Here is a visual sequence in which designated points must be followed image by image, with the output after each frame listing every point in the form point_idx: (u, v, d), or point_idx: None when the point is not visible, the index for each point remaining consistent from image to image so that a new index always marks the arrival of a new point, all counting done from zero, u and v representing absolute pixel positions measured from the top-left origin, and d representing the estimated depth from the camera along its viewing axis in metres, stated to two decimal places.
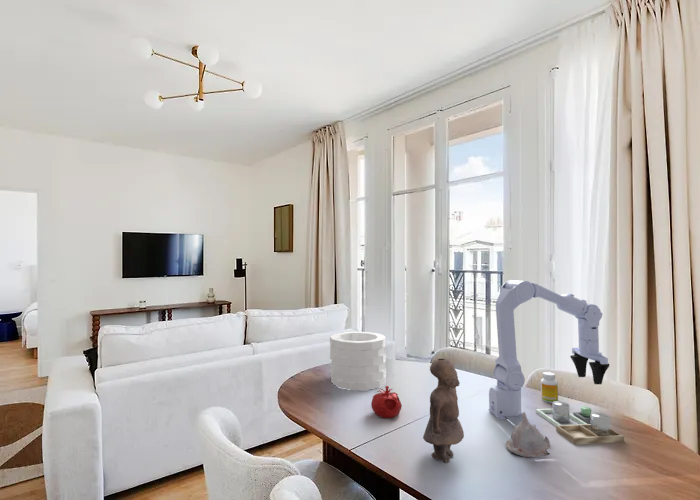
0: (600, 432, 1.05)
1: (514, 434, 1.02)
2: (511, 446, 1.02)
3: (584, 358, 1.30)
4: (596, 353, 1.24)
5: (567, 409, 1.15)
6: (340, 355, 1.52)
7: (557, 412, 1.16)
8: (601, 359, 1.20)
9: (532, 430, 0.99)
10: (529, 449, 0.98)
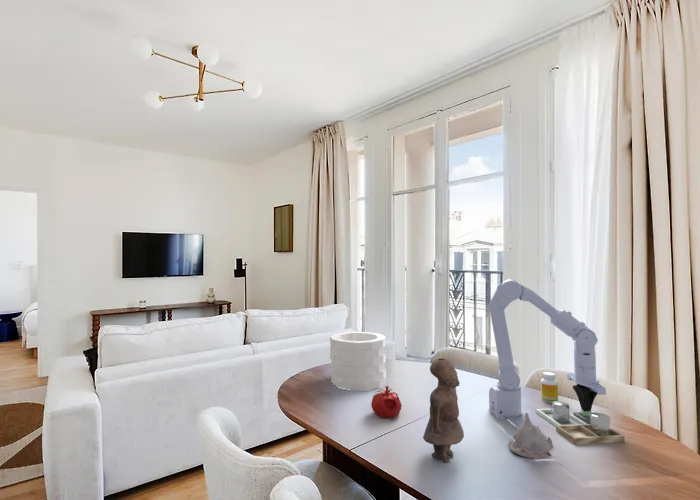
0: (600, 432, 1.05)
1: (516, 435, 1.02)
2: (513, 447, 1.02)
3: None
4: (593, 381, 1.14)
5: (567, 409, 1.15)
6: (340, 355, 1.52)
7: (557, 412, 1.16)
8: (598, 389, 1.10)
9: (535, 431, 0.98)
10: (532, 450, 0.98)
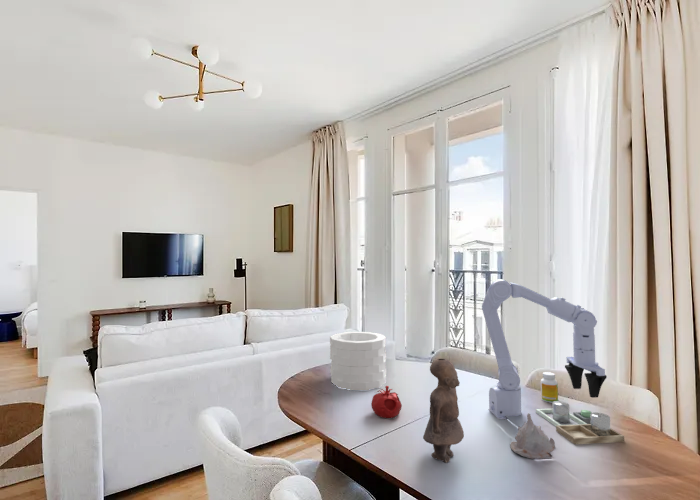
0: (600, 432, 1.05)
1: (519, 435, 1.01)
2: (516, 447, 1.01)
3: (579, 368, 1.21)
4: (592, 363, 1.15)
5: (567, 409, 1.15)
6: (340, 355, 1.52)
7: (557, 412, 1.16)
8: (597, 370, 1.10)
9: (537, 431, 0.98)
10: (534, 450, 0.97)
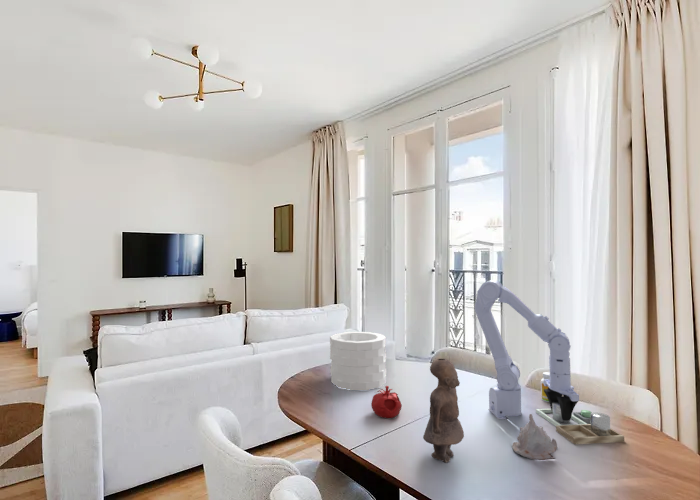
0: (600, 432, 1.05)
1: (520, 436, 1.01)
2: (517, 448, 1.01)
3: (558, 393, 1.20)
4: (567, 388, 1.15)
5: None
6: (340, 355, 1.52)
7: (557, 412, 1.16)
8: (572, 396, 1.10)
9: (539, 432, 0.98)
10: (535, 451, 0.97)
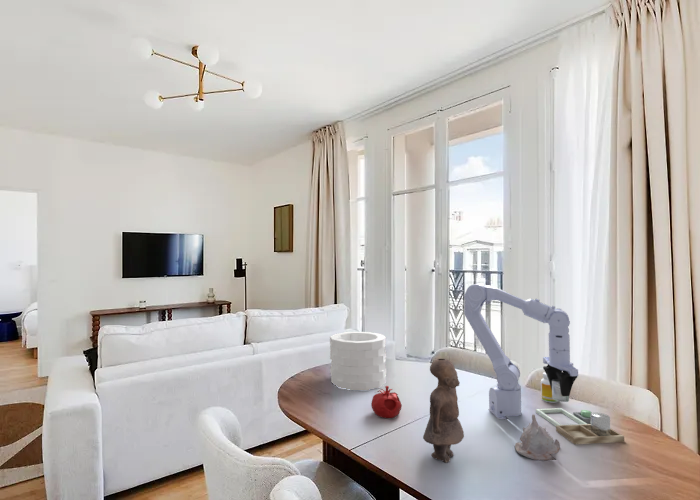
0: (600, 432, 1.05)
1: (523, 436, 1.01)
2: (520, 448, 1.01)
3: (558, 370, 1.20)
4: (567, 364, 1.15)
5: None
6: (340, 355, 1.52)
7: (557, 389, 1.16)
8: (571, 371, 1.11)
9: (541, 432, 0.97)
10: (538, 452, 0.97)
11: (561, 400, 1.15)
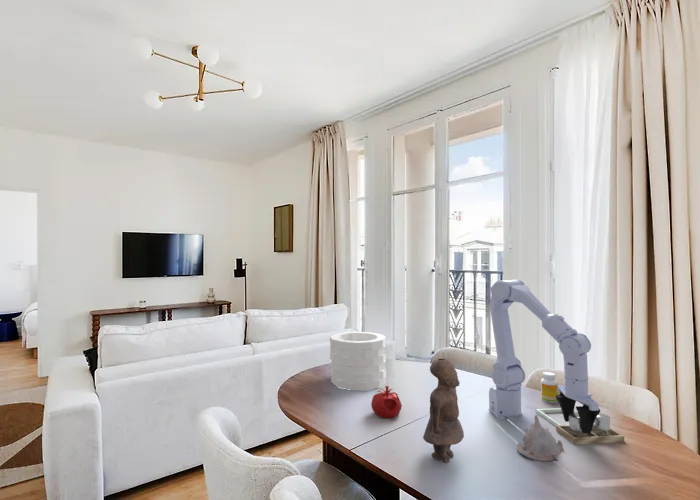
0: (600, 432, 1.05)
1: (525, 437, 1.00)
2: (522, 449, 1.00)
3: (571, 399, 1.10)
4: (585, 395, 1.04)
5: None
6: (340, 355, 1.52)
7: (575, 426, 1.05)
8: (590, 404, 0.99)
9: (544, 433, 0.97)
10: (540, 452, 0.96)
11: None
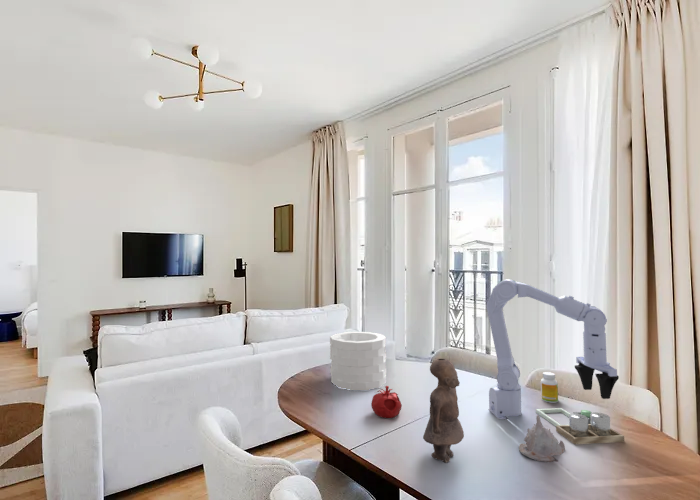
0: (600, 432, 1.05)
1: (527, 437, 1.00)
2: (524, 449, 1.00)
3: (590, 368, 1.17)
4: (603, 363, 1.11)
5: (586, 423, 1.04)
6: (340, 355, 1.52)
7: (575, 426, 1.05)
8: (609, 371, 1.06)
9: (545, 434, 0.97)
10: (542, 453, 0.96)
11: None
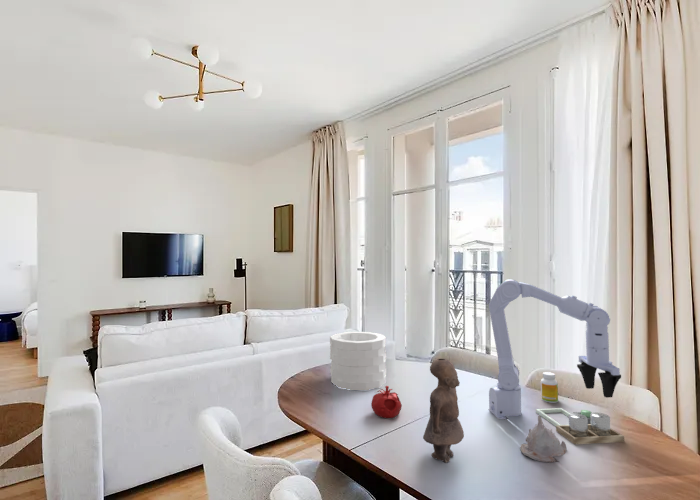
0: (600, 432, 1.05)
1: (529, 437, 1.00)
2: (526, 449, 1.00)
3: (592, 367, 1.18)
4: (606, 362, 1.12)
5: (585, 423, 1.04)
6: (340, 355, 1.52)
7: (574, 426, 1.05)
8: (612, 370, 1.07)
9: (547, 434, 0.96)
10: (544, 453, 0.96)
11: None
